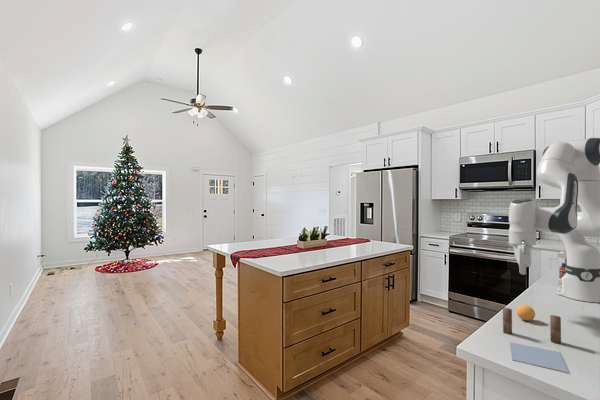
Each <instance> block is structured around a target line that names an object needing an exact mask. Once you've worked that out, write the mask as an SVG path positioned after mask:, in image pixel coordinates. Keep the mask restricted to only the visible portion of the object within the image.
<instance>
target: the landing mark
mask: <svg viewBox="0 0 600 400" xmlns="http://www.w3.org/2000/svg"><path fill="white" fill-rule="evenodd" d="M509 347H510V353H511V360H512V361H514V362H518V363H523V364H527V365H531V366H536V367H540V368H544V369H549V370H552V369H553V370H554V371H556V372H557V371H558V372H561V371H562V373H565V372H566V374H569V373H570V372H569V369H568V367H567V365H566V363H565V361H564V358H563V356H562V354H561V352H560V351H556V350H551V349H546V348H542V347H541V348H540V347H536V346H531V345H526V344H522V343H516V342H512V341H509Z"/></svg>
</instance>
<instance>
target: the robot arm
mask: <svg viewBox="0 0 600 400" xmlns="http://www.w3.org/2000/svg"><path fill="white" fill-rule="evenodd" d="M536 176H537V178H538V180H539V181H540V182H541V183H543V184H545V185H547V186H549V187H551V188H557V189H558V190H559V189H560V190H561V193H560V201H559V204H558V205H556V206H554V207H550V206H549V207H547V206H544V207H543V206H542V207H541V206H538V205H535V204H536V203H535V201H534V199H531V198H519V199H518V198H517V199H514V200H512V201H511V202H510V203H509V210H508V223H509V228H508V243H509V244H511V245H512V248H513V253H514V257H515V259H516V262H517V264H518V268H519V270H518V271H519V272H518V273H519V274H520V275H524V276H525V275H526V274H527V272H526V271H527V268H528V267H529V268H530V267H531V265H532V258H531V257H532V256H531V255H532V254H531V253H532V252H531V249H533V246H536V245H537V231H539V232H550V233H551V232H552V233H555V234H556V235H557V236H558V237H559V239H560V240H561V241H562V243H563V246H564V248H565V252H566V258H567V264H566V267H565V272H566V273H565V275H564V276H563V277H562V279H561V278H560V279H559V278H558V284H559V285H558V286H557V287H556V292H555V294H556V295H558V296H562V297H567V298H569V299H573V300H577V301H581V302H589V303H600V251H599V249H598V248H597V247H595V246H594V245H592V244H590V243H588V242H587V240H586V239H585V237H588V238H589V237H590V238H591V237H592V238H600V137H589V138H582V139H575V140H573V139H572V140H570V141H565V142H564V141H559V142H555V143H552V144H551V145H548V146H547V147H546V148H545V149H544V150H543V152H542V157H541V159H540V161H539V163H538V166H537V170H536ZM578 206H579V208H580V209H581V210H580V211H578V209H577V208H578ZM561 284H562V285H561Z"/></svg>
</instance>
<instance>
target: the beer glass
mask: <svg viewBox="0 0 600 400" xmlns="http://www.w3.org/2000/svg"><path fill="white" fill-rule="evenodd" d="M562 263H567V258H566V251H564V250H563V251H558V252H557V265H558V268H560V267H561V266H562Z"/></svg>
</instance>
